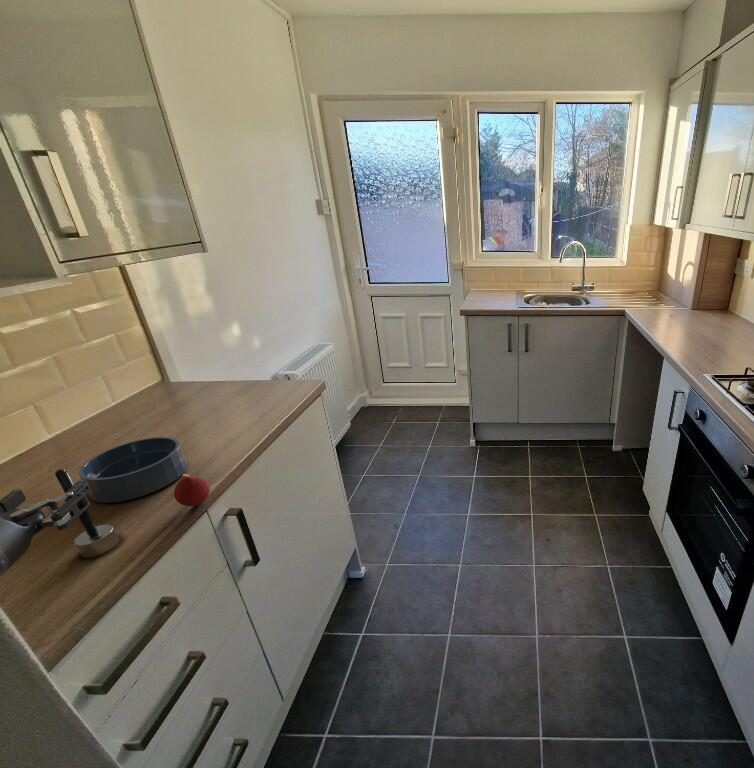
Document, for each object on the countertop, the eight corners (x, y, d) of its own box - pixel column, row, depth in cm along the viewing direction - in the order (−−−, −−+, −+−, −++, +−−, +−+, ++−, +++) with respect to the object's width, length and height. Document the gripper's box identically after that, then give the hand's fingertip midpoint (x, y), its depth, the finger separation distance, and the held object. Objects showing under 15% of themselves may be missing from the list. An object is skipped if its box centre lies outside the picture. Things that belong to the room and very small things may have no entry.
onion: (215, 493, 91) (204, 463, 88) (212, 508, 86) (200, 477, 83) (182, 502, 88) (170, 471, 85) (178, 518, 84) (164, 486, 81)
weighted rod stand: (79, 562, 74) (33, 482, 67) (83, 544, 78) (41, 468, 71) (117, 548, 77) (77, 471, 70) (120, 532, 80) (82, 457, 74)
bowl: (85, 516, 85) (71, 490, 82) (97, 476, 98) (85, 452, 95) (189, 484, 94) (179, 460, 92) (187, 451, 107) (179, 429, 105)
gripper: (22, 529, 55) (96, 462, 69) (-124, 554, 51) (-14, 478, 65) (48, 571, 58) (114, 499, 72) (-88, 597, 54) (9, 516, 68)
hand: (53, 489), depth 69 cm, fingers open, 8 cm apart
